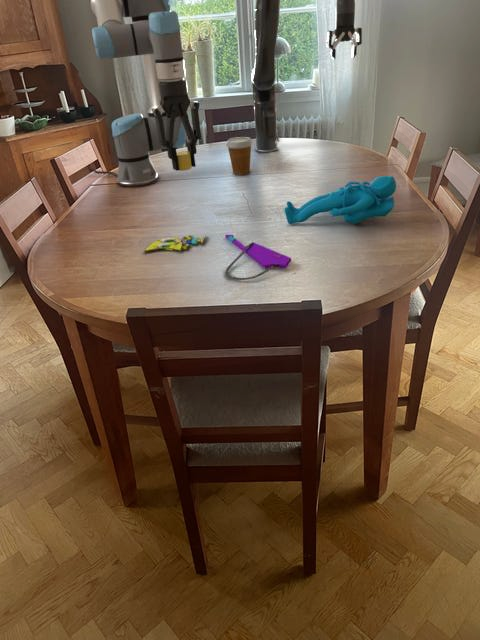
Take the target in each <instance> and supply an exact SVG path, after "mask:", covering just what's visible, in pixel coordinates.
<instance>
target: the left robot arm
mask: <svg viewBox="0 0 480 640" xmlns="http://www.w3.org/2000/svg"><path fill="white" fill-rule="evenodd" d="M89 2H90V8H91V12H92V13H93V15H94V16H95V17H96V23H97V26H95V27H93V28H91V35H92V39H93V44H94V49H95V53H96V56H97V58H98V59H100V60H104V59H106V60H107V59H108V60H112V59H113V60H114V59H119V58H126V57H127V58H128V57H137V56H142V60H143V67H144V72H145V77H146V85H147V91H148V95H149V102H150V106H149V109H148V110H147V114H148V116H146V117H144V116H143V114H142V113H138V112H137V113H132V114H128V115H124V116H120V117H119V118H116V119H114V120H113V121H112V122H111V131H112V137H113V141H114V146H115V151H116V155H117V160H118V167H117V168H118V170H117V173H115V172H113V171H105V170H104V171H103V170H100V171H99V170H96V169H95V168H94V167H93V168H91V170H90V172H94V173H96V174H110V175H114V176H115V177H117V183H118V186H120V187H123V188H124V187H125V188H136V187H137V188H138V187H145V186H147V185H148V186H149V185H151V184H154V183H156V182H157V181H158V180H159V176H158V172H157V169H156V168H155V166H154V163H153V161H152V159H151V156H150V152H153V151H161V150H166V151H167V157H168V159H169V160H171V164H172V169H173V170H174V171H176V172H178V171H179V167H178V160H177V153H176V152H177V148H180V147H183V146H184V145H185V144H186V149H187V151H189V152H190V155H191V163H192V168H195V167H196V165H197V164H196V157H195V155H196V154H197V142H198V140H201V139H202V132H201V123H200V122H201V121H200V114H199V109H200V102H199V101H193V100H191V99H190V98H189V91H188V90H189V89H188V82H187V80H186V79H185V78H186V76H187V75H186V68H185V60H184V59H185V58H184V52H183V44H182V35H181V24H180V20H179V14H178V12H176V10H171V4H170V0H89ZM124 18H131V22H132V23H125V20H124ZM188 109H190V113H191V114H190V115H191V121H190V119H189V117H190V116H189V114H188ZM191 124H192V125H191ZM187 139H188V141H187ZM186 141H187V142H186Z"/></svg>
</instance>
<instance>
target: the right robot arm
mask: <svg viewBox="0 0 480 640" xmlns="http://www.w3.org/2000/svg"><path fill="white" fill-rule="evenodd" d="M280 9H281V0H256V1H255V9H254V39H255V59H254V68H253V69H252V73H251V84H252V85H251V87H252V99H253V115H254V130H255V131H254V132H255V150H256V152H259V153H270V152H271V153H272V152H275V151H277V150H278V149H279V148H278V142H279V140H278V129H279V128H278V124H277V123H278V122H277V120H278V119H277V98H276V60H275V59H276V55H275V54H276V46H277V40H278V33H279V23H280V11H281V10H280ZM334 12H335V15H334V16H335V17H334V18H335V21H334V26H335V28H334V30H327V32H326V33H327V34H326V48H328V49H330V59H331V60H336V57H337V53H336V52H337V49H336V48H337V46H338V45H339V44H340V43H344V42H349V43H350V44H351V46H352V47H351V58H356V56H357V54H358V53H357V49H358V47H359V46H361V45H362V43H363V39H362V38H363V28H362V27H357V28H355V22H356V21H355V19H356V0H336V2H335V11H334ZM354 34H355V35H356V39H355V37H354ZM334 36H335V38H334V40H333V37H334ZM332 41H333V42H332Z"/></svg>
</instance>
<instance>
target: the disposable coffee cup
mask: <svg viewBox="0 0 480 640" xmlns="http://www.w3.org/2000/svg"><path fill="white" fill-rule="evenodd" d="M226 141H227V142H226V146H227V149H228V153H229V154H228V155H229V159H230V163H231V168H232V174H234V175H239V176H240V175H247V174H249V173H250V171H251V154H252V153H251V152H252V144H253V141H252V139H251V137H248V136H236V137H231V138H229V139H227V140H226Z"/></svg>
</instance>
